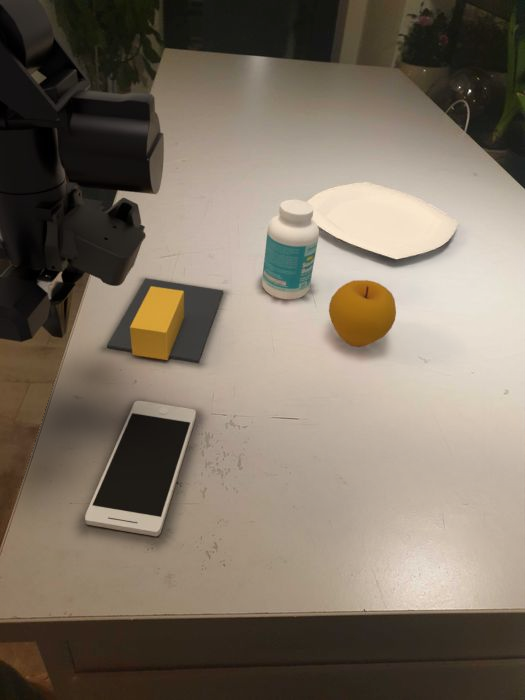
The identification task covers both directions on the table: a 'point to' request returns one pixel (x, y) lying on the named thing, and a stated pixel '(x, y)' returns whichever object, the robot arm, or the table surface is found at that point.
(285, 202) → the pill bottle
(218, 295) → the mat
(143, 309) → the block
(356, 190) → the plate
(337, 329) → the apple
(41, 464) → the table surface
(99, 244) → the robot arm
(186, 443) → the smartphone
